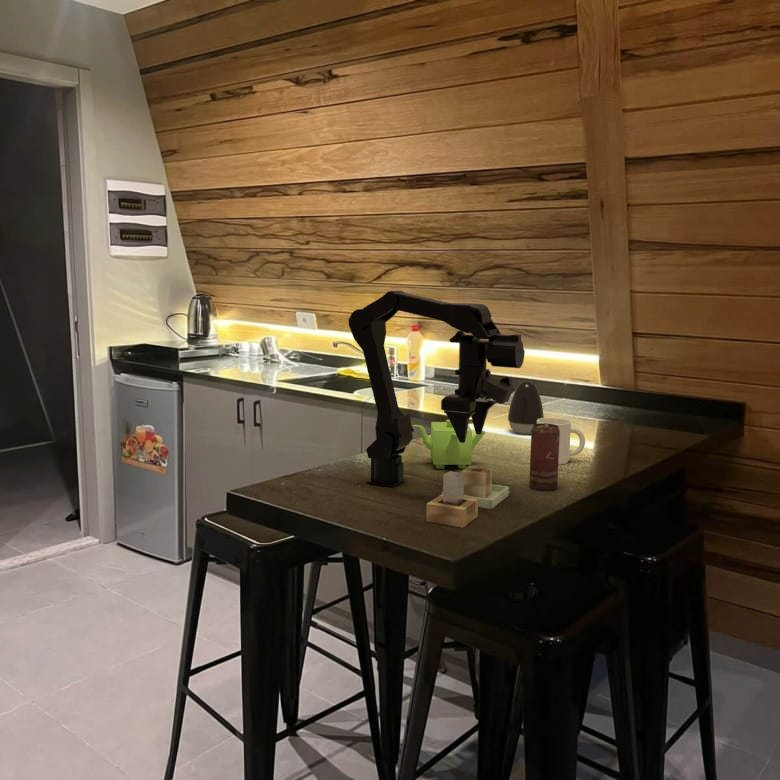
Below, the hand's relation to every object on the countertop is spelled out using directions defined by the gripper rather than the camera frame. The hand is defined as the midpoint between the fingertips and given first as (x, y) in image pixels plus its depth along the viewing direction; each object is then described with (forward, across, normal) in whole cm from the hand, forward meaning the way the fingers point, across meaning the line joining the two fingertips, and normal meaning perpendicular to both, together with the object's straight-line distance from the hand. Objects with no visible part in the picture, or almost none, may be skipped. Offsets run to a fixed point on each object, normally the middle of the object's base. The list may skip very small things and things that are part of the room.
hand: (470, 438), depth 168 cm
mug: (+13, +38, -9) cm, 41 cm away
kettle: (+13, +21, +14) cm, 28 cm away
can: (+13, +14, -12) cm, 22 cm away
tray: (+12, -1, -2) cm, 13 cm away
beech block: (+12, -1, -2) cm, 12 cm away
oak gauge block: (+12, -16, -3) cm, 21 cm away
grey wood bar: (+12, -16, -3) cm, 20 cm away
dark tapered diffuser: (+13, +66, +9) cm, 68 cm away
